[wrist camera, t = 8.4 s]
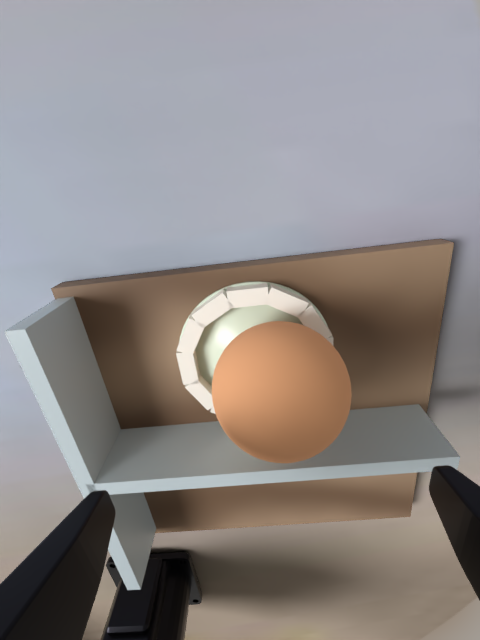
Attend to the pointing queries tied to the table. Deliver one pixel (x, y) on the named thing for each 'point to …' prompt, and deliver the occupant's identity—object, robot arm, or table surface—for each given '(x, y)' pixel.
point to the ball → (281, 392)
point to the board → (196, 389)
